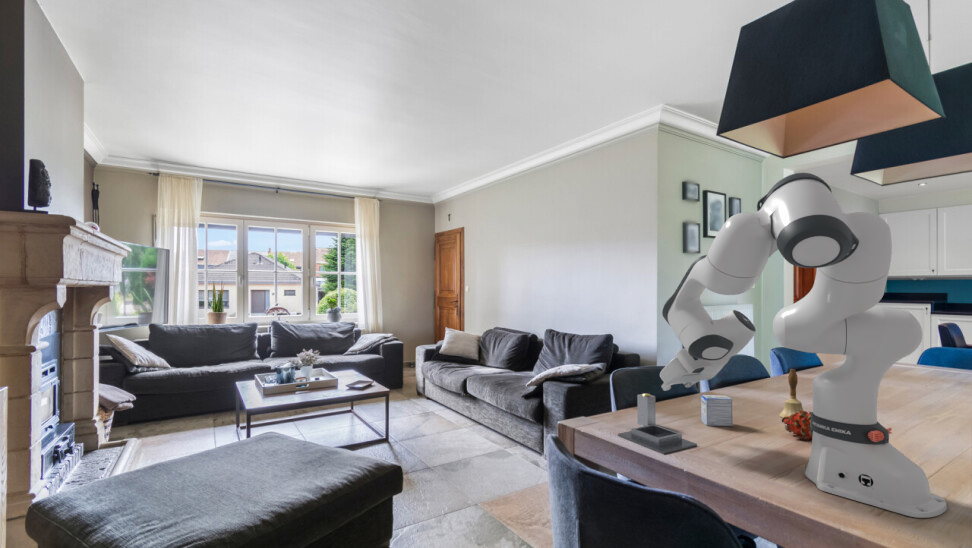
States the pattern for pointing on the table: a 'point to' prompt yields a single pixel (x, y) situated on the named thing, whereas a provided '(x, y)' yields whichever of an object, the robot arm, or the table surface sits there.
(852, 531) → the table surface
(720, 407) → the medicine box
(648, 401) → the nut block
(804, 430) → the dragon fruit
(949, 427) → the table surface
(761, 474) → the table surface
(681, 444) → the rectangular socket base
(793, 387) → the hand bell
